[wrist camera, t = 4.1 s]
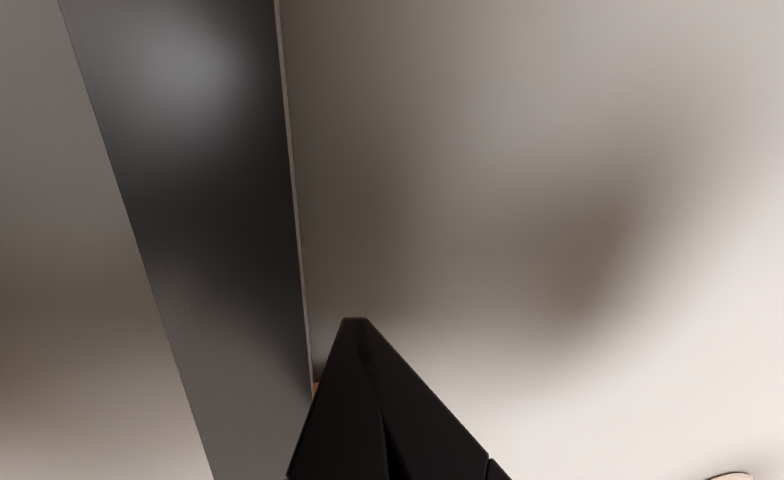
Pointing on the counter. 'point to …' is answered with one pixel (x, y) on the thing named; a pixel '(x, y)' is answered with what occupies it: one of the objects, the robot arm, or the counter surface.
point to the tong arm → (210, 207)
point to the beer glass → (734, 477)
